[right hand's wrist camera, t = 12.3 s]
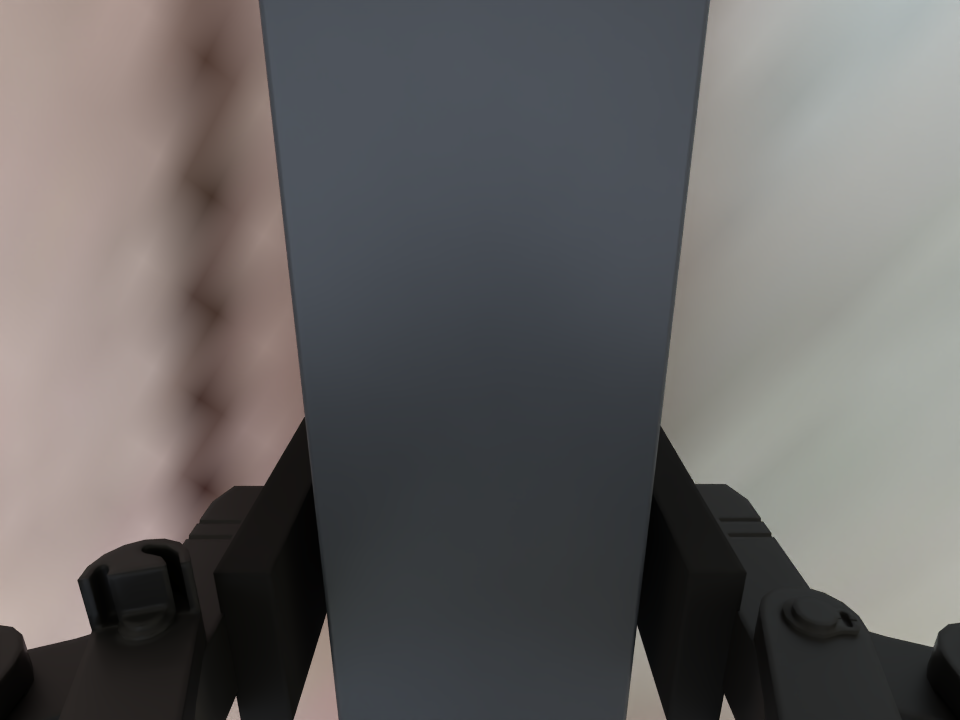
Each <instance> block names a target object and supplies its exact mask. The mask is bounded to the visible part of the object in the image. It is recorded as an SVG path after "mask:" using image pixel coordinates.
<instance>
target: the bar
mask: <svg viewBox="0 0 960 720" xmlns="http://www.w3.org/2000/svg"><path fill="white" fill-rule="evenodd" d="M709 4H710V0H259V7H260V16H261V25H262V34H263V43H264V52H265V61H266V70H267V79H268V88H269V97H270V106H271V115H272V124H273V133H274V142H275V151H276V160H277V169H278V178H279V187H280V196H281V205H282V214H283V223H284V232H285V241H286V250H287V259H288V268H289V277H290V286H291V295H292V304H293V313H294V322H295V331H296V340H297V349H298V358H299V367H300V376H301V385H302V394H303V403H304V412H305V421H306V430H307V439H308V448H309V457H310V466H311V475H312V484H313V493H314V502H315V511H316V520H317V529H318V538H319V547H320V556H321V565H322V574H323V583H324V592H325V601H326V610H327V619H328V628H329V637H330V646H331V655H332V664H333V673H334V682H335V691H336V700H337V709H338V718H339V720H626V715H627V706H628V698H629V689H630V681H631V672H632V664H633V655H634V646H635V638H636V629H637V621H638V612H639V604H640V595H641V586H642V578H643V569H644V561H645V552H646V544H647V535H648V526H649V518H650V509H651V501H652V492H653V484H654V475H655V466H656V458H657V449H658V441H659V432H660V424H661V415H662V406H663V398H664V389H665V381H666V372H667V364H668V355H669V346H670V338H671V329H672V321H673V312H674V304H675V295H676V286H677V278H678V269H679V261H680V252H681V244H682V235H683V226H684V218H685V209H686V201H687V192H688V184H689V175H690V166H691V158H692V149H693V141H694V132H695V124H696V115H697V106H698V98H699V89H700V81H701V72H702V64H703V55H704V47H705V38H706V29H707V21H708V12H709Z"/></svg>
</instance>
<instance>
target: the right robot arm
mask: <svg viewBox="0 0 960 720" xmlns="http://www.w3.org/2000/svg"><path fill="white" fill-rule="evenodd" d="M78 584H79V587H80V591H81V594H82V598H83V601H84V605H85V608H86V612H87V615H88V619H89V622H90V626H91V629H92V632H91V634H90V635H86V636H83V637H80V638H77V639H72V640H68V641H64V642H59V643H55V644H51V645H46V646H42V647H38V648H34V649H29V650H27V647H26V644H25V642H24V639H23V636H22V634H21V633H19V632H18V631H17V630H16V629H14V628H13V627H9V626H1V625H0V720H226V718H227V716H228V714H229V711H230V709H231V707H232V704H233V702H234V699H235V697H237V702H238V707H239V712H240V718H241V720H293V719H294V716H295V713H296V710H297V707H298V703H299V700H300V697H301V694H302V690H303V687H304V684H305V681H306V678H307V674H308V671H309V668H310V665H311V661H312V658H313V655H314V652H315V649H316V645H317V642H318V639H319V636H320V632H321V629H322V626H323V623H324V620H325V616H326V613H327V610H326V601H325V592H324V583H323V574H322V565H321V556H320V547H319V538H318V529H317V520H316V511H315V502H314V493H313V484H312V475H311V466H310V457H309V448H308V439H307V430H306V421H305V417H304V419H303V421H302V422H301V424H300V426H299V427H298V429H297V431H296V432H295V434H294V436H293V438H292V439H291V441H290V443H289V444H288V446H287V448H286V449H285V451H284V453H283V455H282V456H281V458H280V460H279V461H278V463H277V465H276V467H275V468H274V470H273V472H272V473H271V475H270V477H269V478H268V480H267V482H266V484H265V485H264V486H234V487H232V488H231V489H230V490H228V491H227V492H225V493H224V494H223V495H221V496H220V497H218V498H217V499H216V500H214V501H213V502H212V503H211V505H210V506H209V508H208V509H207V510H206V512H205V513H204V515H203V516H202V518H201V519H200V523H199V524H197V525H196V526H195V528H194V529H193V530H192V532H191V533H190V535H189V539H186V540H185V542H184V543H183V545H182V544H181V543H180V542H177V541H172V540H168V539H149V540H142V541H138V542H135V543H131V544H127V545H124V546H121V547H119V548H117V549H115V550H113V551H111V552H108V553H106V554H104V555H103V556H101V557H100V558H99V559H97V560H96V561H95V562H93V563H92V564H91V565H89V566H88V567H87V568H86V570H85V571H84V572H83V574H82V575H81V576H80V578H79V579H78ZM637 626H638V629H639V632H640V636H641V639H642V642H643V645H644V648H645V652H646V655H647V658H648V661H649V665H650V668H651V671H652V674H653V677H654V681H655V684H656V687H657V690H658V694H659V697H660V700H661V703H662V707H663V710H664V713H665V716H666V719H667V720H719V718H720V712H721V707H722V702H723V697H724V694H725V696H726V699H727V701H728V703H729V706H730V708H731V710H732V713H733V715H734V718H735V720H960V623H955V624H948V625H947V626H946V627H945V628H943V629H942V630H941V631H939V633H938V636H937V639H936V642H935V645H934V647H929V646H925V645H921V644H916V643H912V642H908V641H903V640H899V639H894V638H890V637H886V636H882V635H879V634H876V633H872V632H869V631H868V629H867V628H866V626H865V625H864V623H863V622H862V620H861V619H860V617H859V616H858V615H857V614H856V613H855V612H854V611H852V610H851V609H850V608H849V607H848V606H846V605H845V604H844V603H843V602H841V601H839V600H837V599H835V598H833V597H831V596H829V595H827V594H825V593H823V592H820V591H816V590H813V589H810V588H809V586H808V585H807V583H806V582H805V580H804V579H803V578H802V576H801V575H800V573H799V572H798V570H797V569H796V568H795V566H794V565H793V563H792V562H791V561H790V559H789V558H788V556H787V555H786V553H785V552H784V551H783V549H782V548H781V546H780V545H779V543H778V542H777V541H776V539H775V538H774V537H772V536H771V532H770V531H769V529H768V528H767V526H766V525H765V523H764V522H761V518H760V516H759V515H758V514H757V512H756V511H755V509H754V508H753V506H752V505H751V504H750V502H749V501H748V500H747V499H746V498H745V497H743V496H742V495H740V494H739V493H738V492H736V491H735V490H733V489H732V488H731V487H729V486H728V485H726V484H694V482H693V480H692V478H691V477H690V475H689V473H688V472H687V470H686V468H685V466H684V465H683V463H682V461H681V460H680V458H679V456H678V455H677V453H676V451H675V449H674V448H673V446H672V444H671V443H670V441H669V439H668V438H667V436H666V434H665V432H664V431H663V429H662V427H661V426H660V432H659V441H658V449H657V458H656V466H655V475H654V484H653V492H652V501H651V509H650V518H649V526H648V535H647V544H646V552H645V561H644V569H643V578H642V586H641V595H640V604H639V612H638V621H637Z"/></svg>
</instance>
